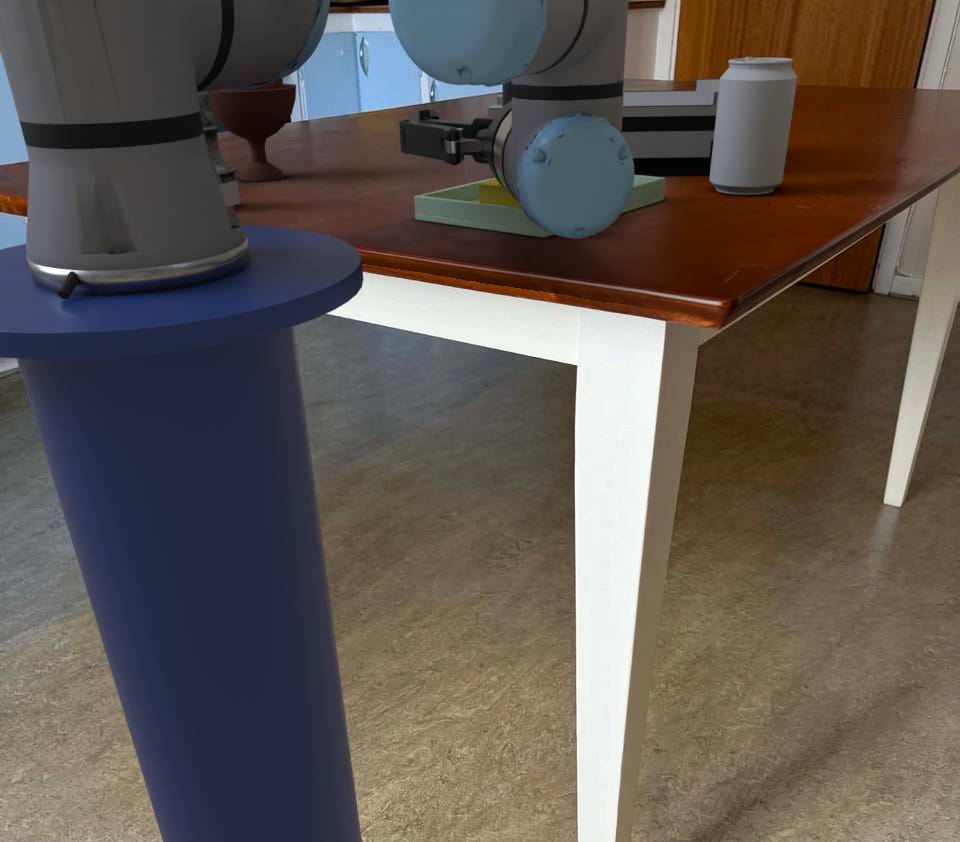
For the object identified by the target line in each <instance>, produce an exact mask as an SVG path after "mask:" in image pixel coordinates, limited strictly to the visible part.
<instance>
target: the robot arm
mask: <svg viewBox="0 0 960 842" xmlns="http://www.w3.org/2000/svg"><path fill="white" fill-rule="evenodd" d="M629 1H630V0H388V7H389V8H388V9H389V15H390V18H391V23H392V26H393V29H394V32H395V35H396V37H397V40H398V41H399V44H400V45H401V47H402V49H403V50H404V52H405V53H406V55H407V56H408V58H409V59H410V61H412V63H413V64H414V65H415V66H416V67H417V68H418V69H419V70H420V71H421V72H423V73H424V74H426V75H427V76H429V78H432V79H434V80H435V81H438V82H441V83H444V84H447V85H453V86H468V85H469V86H484V87H486V88H491V87H498V86H503V84H505V83H507V82H509V81H510V80H511V83H512V84H511V89H512V100H511V101H510V102H508V103H507V104H506V105H505V106H504V107H503V108H502V109H501V110H500V111H499V112H498V113H497V115H496V116H495V117H488V116H480V117H475V118H474V119H473V120H472V121H463V120H451V119H450V120H448V119H440V115H439V114H438V113H437V112H436V111H435V110H434V109H433V108H424V109H417V115H418V121H417V120H410V119H409V118H403V119H401V120H399V121H398V124H399V141H400V152H401V153H403V154H405V155H413V156H418V157H424V158H427V159H428V158H429V159H433V160H437V161H443V162H444V163H446V164H447V165H448V164H449V165H450V166H458V165H460V164H462V162H463V161H465V156H471V157H472V159H473V161H474V162H475V163H477V164H485V165H488V166H489V170H490V171H491V173H492V175H493V176H494V177H493V178H496V179H497V181H498V182H499V183H500V184H501V185H502V186H503V187H504V188H505V190H506V191H507V192H509V193H510V194H511V195H512V196H513V198H514V199H516V200H517V202H518V203H519V204H520V205H521V207H522V208H523V211H524V213H525V214H526V215H527V217H528V218H529V219H530V220H531V221H533V222H534V224H536V225H538V226H539V227H541V228H542V229H544V230H547V231H549V232H551V233H552V234H554V235H556V236H559V237H561V238H567V239H575V240H579V239H584V238H588V237H591V236H594V235H597V234H599V233H601V232H602V231H604V230H605V229H607V228H608V227H610V226H611V225H613V223H614V222H615V221H616V220H617V219H618V218H619V217H620V215H621V214H623V213H622V211H623V210H624V208H625V206H626V205H627V203H628V200H629V198H630V195H631V192H632V188H633V182H634V163H633V158H632V155H631V152H630V149H629V147H628V145H627V143H626V141H625V139H624V138H623V137H622V115H623V96H624V94H623V91H624V84H625V83H624V79H625V78H624V77H625V62H626V50H627V49H626V48H627V47H626V46H627V32H628V31H627V30H628V17H629ZM330 3H331V0H0V56H1V60H2V63H3V66H4V69H5V74H6V76H7V81H8V84H9V88H10V91H11V95H12V99H13V103H14V106H15V110H16V114H17V118H18V121H19V124H20V128H21V132H22V136H23V141H24V144H25V148H26V152H27V157H28V188H27V189H28V190H27V212H26V240H25V244H26V251H27V261H28V264H29V268H30V272H31V275H32V279H33V282H34V283H35V284H36V285H37V286H39V287H41V288H43V289H46V290H49V291H53V292H58V295H59V296H60V297H61V298H62V299H68V298H69V296H70V295H71V294H73V295H88V296H115V295H134V294H146V293H156V292H164V291H171V290H177V289H183V288H189V287H194V286H198V285H203V284H207V283H211V282H214V281H218V280H221V279H224V278H227V277H229V276H232V275H234V274H236V273H238V272H240V271H242V270H243V269H245V268H246V267H247V266H248V265H249V263H250V254H249V247H248V241H247V236H246V235H245V231H244V228H243V226H242V225H243V224H242V222H241V221H240V220H239V217H238V215H237V212H236V209H234V207H233V205H237V204H241V197H240V189H239V184H238V180H236V179H235V181H232V182H228V183H224V184H223V183H222V180H221V178H220V176H219V174H218V172H217V170H216V168H215V166H214V163H213V161H212V159H211V157H210V155H209V152H208V149H207V146H206V142H205V136H204V130H203V124H202V119H201V113H200V106H199V100H198V94H197V93H200V92H207V91H214V90H221V89H227V88H237V89H250V88H257V87H261V86H264V85H265V84H269V83H272V82H273V81H275V80H278V79H281V78H282V79H284V78H286V77H289V76H290V75H292V74H293V73H295V72H297V71H298V70H299V69H301V67H303V65H305V64H306V63H307V61H308V60H309V59H310V58H311V57H312V56H313V54H314V53H315V51H316V49H317V48H318V46H319V44H320V42H321V40H322V38H323V35H324V32H325V29H326V27H327V22H328V18H329V14H330V12H329V11H330ZM489 126H490V128H489Z"/></svg>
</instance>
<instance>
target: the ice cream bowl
mask: <svg viewBox="0 0 960 842" xmlns="http://www.w3.org/2000/svg"><path fill="white" fill-rule="evenodd" d="M209 93H210V97H211V103H212V109H213V116H214V120H215V121H216V122H217V123H218V124H220V125H221V127H223V128H224V129H225V130H226V131H228V132H230V133H231V134H232V135H234V136H235V137H239V138H241V139H243V140H246V141H247V144H248V145H249V147H250V153H251V160H252V161H251V163H250V164H248V165H247V166H246V167H245V168H244V169H243V170H242V171H240V173H239V178H238V179H239V181H245V182H267V181H268V182H269V181H276V180H280V179H284V178H285V174H284V172H283V170H282V169H280V168H279V167H277V166H276V165H274V164H272V163H271V162H269V161H268V159H267V153H266V143H267V139H269V138H271V137H272V136H275V134H277V133H278V132H279V131H280V130H281V129H283V127H284V126H285V125H286V123H287V122H288V121H289V119H290V118H291V116H292V114H293V111H294V107H295V103H296V99H297V84H294V83H284V78H281V79H278V80H275V81H273V82H272V83H269V84H265V85H264V86H261V87H257V88H250V89H237V88H227V89H221V90H214V91H209Z"/></svg>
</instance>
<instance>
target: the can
mask: <svg viewBox="0 0 960 842" xmlns="http://www.w3.org/2000/svg"><path fill="white" fill-rule="evenodd" d="M727 63H728V64H729V67H728V68H727V69H726V71H725V72H724V73H723V74H722V75H721V76H720V78H719V79H720V84H719V94H718V103H717V113H716V122H715V132H714V141H713V150H712V160H711V169H710V175H709V180H708V181H709V182H710V183H711V184H712V186H713V187H714V188H715V191H716V192H719V193H723V194H727V195H737V196H756V195H757V196H758V195H764V194H765V195H766V194H769V193H772V192H774V190H775V189H776V188H777V187H778V186H779V185H780V184H782V183H783V181H784V173H785V166H786V159H787V152H788V146H789V138H790V132H791V125H792V118H793V112H794V111H793V110H794V106H795V105H794V103H795V97H796V90H797V84H798V76H797V74H796V73H795V71H794V69H793V68H792V63H794V59H793V58H788V57H787V58H786V57H752V56H745V57H743V58H742V57H741V58H732V59H729V60H728V61H727Z"/></svg>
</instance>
